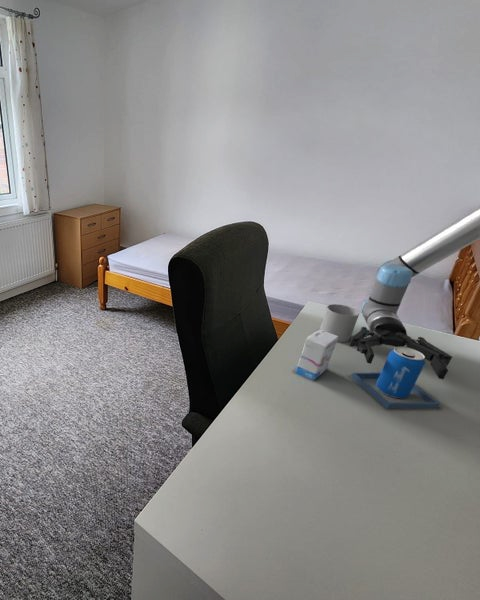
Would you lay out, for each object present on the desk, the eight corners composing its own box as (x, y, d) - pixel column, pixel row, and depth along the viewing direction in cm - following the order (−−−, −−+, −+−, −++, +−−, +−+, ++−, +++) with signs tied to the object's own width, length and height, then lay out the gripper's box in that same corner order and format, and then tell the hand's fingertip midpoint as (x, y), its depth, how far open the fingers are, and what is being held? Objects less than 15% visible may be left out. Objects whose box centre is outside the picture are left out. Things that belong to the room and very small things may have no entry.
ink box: (313, 382, 92) (326, 345, 87) (294, 373, 95) (305, 337, 90) (327, 371, 96) (339, 335, 91) (307, 362, 100) (318, 327, 95)
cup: (324, 341, 110) (333, 314, 106) (314, 329, 117) (322, 303, 113) (354, 344, 108) (364, 317, 104) (342, 331, 115) (352, 305, 111)
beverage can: (373, 392, 87) (390, 353, 82) (377, 380, 91) (393, 342, 86) (406, 404, 83) (426, 364, 78) (409, 391, 87) (428, 352, 82)
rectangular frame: (394, 378, 93) (397, 372, 92) (437, 410, 82) (440, 403, 81) (349, 378, 93) (352, 372, 92) (385, 410, 82) (388, 404, 81)
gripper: (437, 349, 95) (469, 394, 79) (331, 329, 107) (339, 365, 90) (449, 326, 92) (485, 367, 76) (338, 308, 104) (348, 340, 87)
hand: (406, 366), depth 83 cm, fingers open, 13 cm apart
